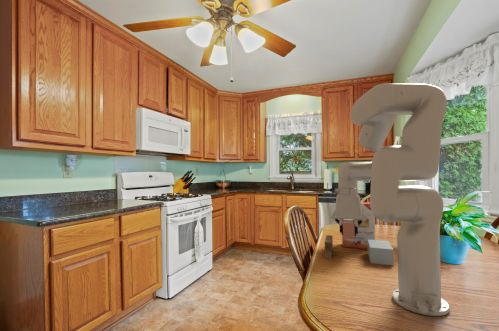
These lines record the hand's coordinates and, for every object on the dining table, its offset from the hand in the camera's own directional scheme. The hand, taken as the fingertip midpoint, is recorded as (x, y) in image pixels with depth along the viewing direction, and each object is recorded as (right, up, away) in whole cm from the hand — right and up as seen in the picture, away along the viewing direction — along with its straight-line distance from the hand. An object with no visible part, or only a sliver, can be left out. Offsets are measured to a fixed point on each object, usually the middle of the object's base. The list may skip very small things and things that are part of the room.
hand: (348, 234), depth 105 cm
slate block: (+11, -9, -5) cm, 15 cm away
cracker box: (+9, -9, +12) cm, 18 cm away
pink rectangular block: (0, -1, 0) cm, 1 cm away
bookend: (-8, -9, +3) cm, 12 cm away
